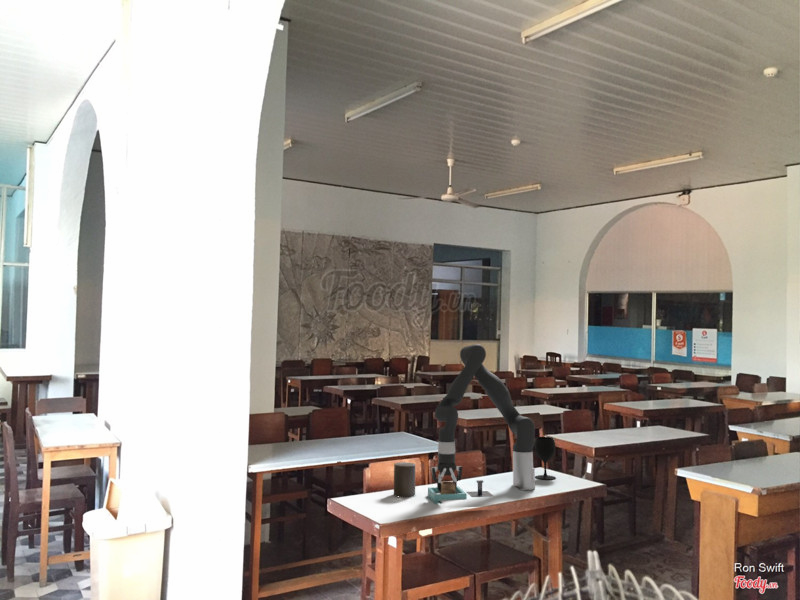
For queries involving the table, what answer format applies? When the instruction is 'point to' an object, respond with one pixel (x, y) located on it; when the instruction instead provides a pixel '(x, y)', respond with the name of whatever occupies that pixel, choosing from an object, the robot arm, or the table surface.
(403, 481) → the pillar candle
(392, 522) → the table surface
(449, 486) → the walnut collar
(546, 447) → the wine glass
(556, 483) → the table surface
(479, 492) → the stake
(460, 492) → the tray
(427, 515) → the table surface
